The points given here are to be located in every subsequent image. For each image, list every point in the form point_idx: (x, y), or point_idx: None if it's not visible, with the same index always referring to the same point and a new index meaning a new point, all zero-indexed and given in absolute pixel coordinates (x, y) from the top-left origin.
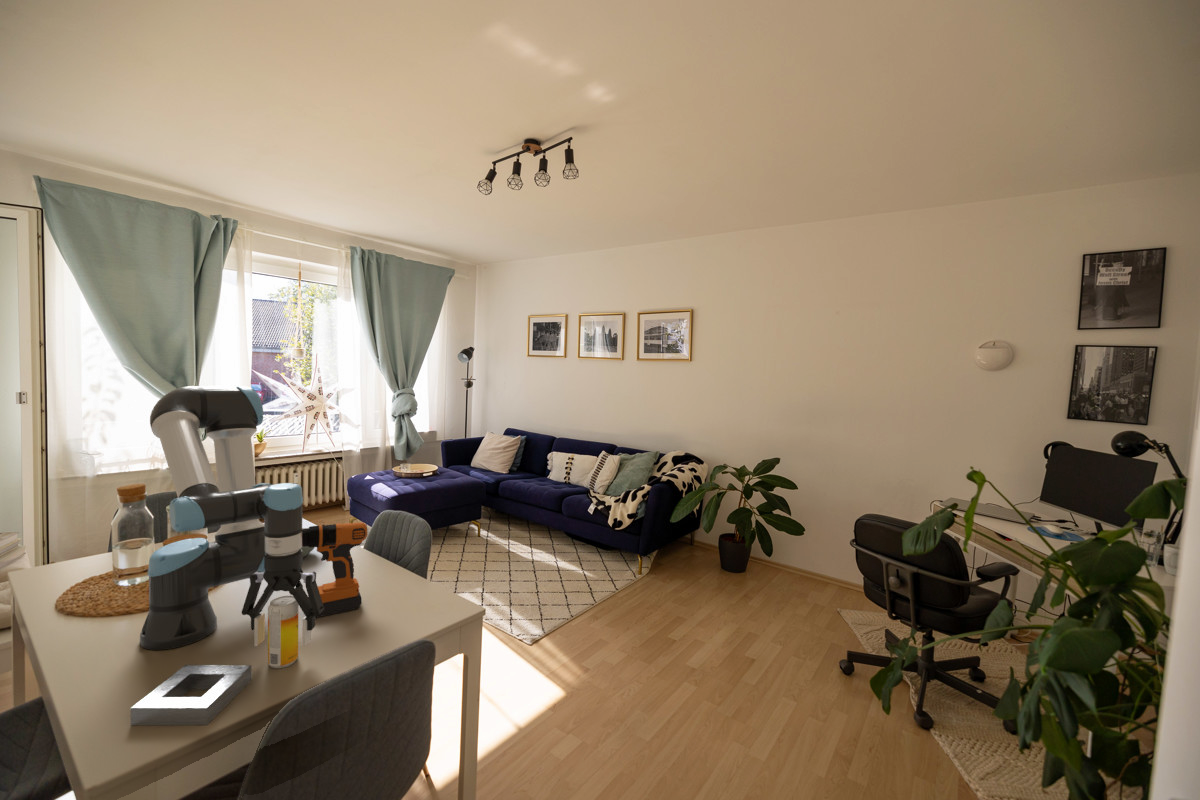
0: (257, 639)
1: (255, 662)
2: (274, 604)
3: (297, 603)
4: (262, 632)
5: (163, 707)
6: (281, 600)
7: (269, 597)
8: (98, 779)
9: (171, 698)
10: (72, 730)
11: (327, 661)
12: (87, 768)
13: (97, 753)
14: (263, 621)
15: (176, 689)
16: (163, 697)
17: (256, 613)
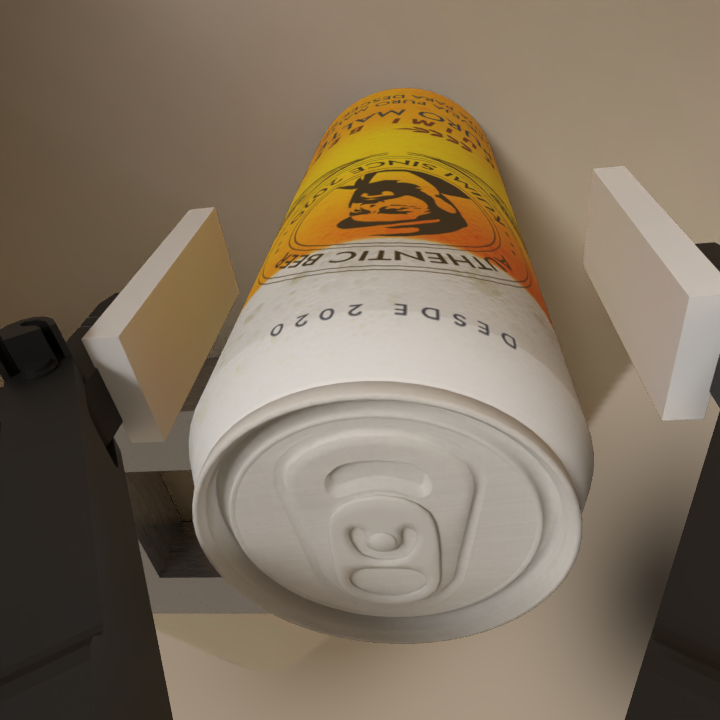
0: (224, 317)
1: (231, 200)
2: (316, 590)
3: (587, 453)
4: (200, 269)
5: (227, 612)
6: (335, 522)
7: (96, 520)
8: (279, 667)
9: (204, 583)
10: None
11: (715, 133)
12: (218, 649)
13: (185, 622)
14: (161, 307)
15: (141, 512)
16: (169, 579)
17: (125, 478)
